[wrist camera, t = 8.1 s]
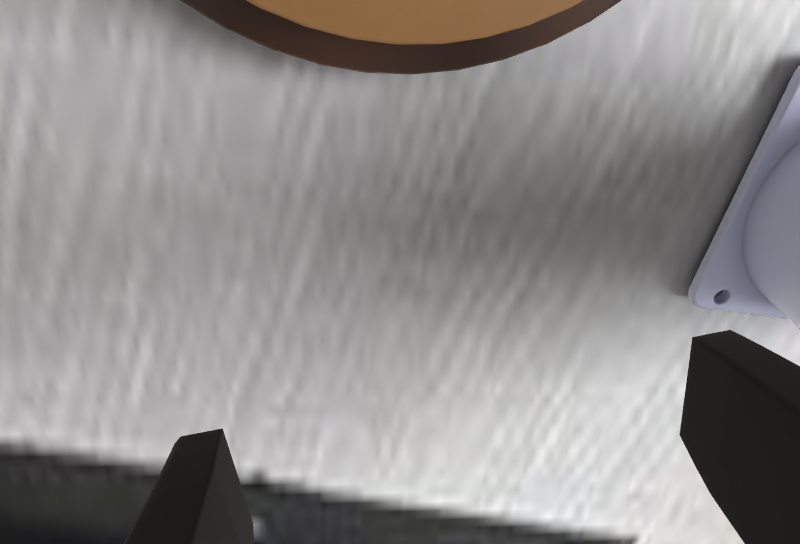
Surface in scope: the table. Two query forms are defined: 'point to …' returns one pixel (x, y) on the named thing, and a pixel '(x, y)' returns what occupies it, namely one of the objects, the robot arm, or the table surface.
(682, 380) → the table surface
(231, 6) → the display base
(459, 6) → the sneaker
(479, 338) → the table surface
